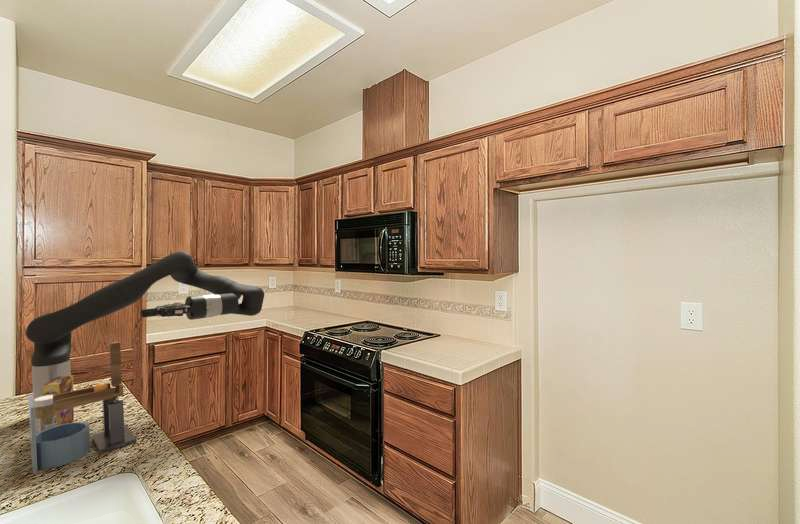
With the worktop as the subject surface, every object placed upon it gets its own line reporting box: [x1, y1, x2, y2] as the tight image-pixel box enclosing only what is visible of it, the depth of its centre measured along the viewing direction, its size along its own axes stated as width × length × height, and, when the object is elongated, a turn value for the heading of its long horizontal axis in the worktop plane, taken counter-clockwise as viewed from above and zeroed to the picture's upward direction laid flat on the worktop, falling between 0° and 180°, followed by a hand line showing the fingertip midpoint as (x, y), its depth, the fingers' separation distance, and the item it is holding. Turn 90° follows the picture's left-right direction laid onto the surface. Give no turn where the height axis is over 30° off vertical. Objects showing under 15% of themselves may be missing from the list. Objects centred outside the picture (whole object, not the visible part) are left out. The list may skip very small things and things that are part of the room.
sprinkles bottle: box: [34, 395, 57, 434], centre depth 103 cm, size 5×5×14 cm
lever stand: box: [91, 397, 137, 455], centre depth 105 cm, size 12×8×13 cm, turn 47°
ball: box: [93, 382, 108, 392], centre depth 103 cm, size 3×3×3 cm
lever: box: [53, 341, 125, 412], centre depth 101 cm, size 6×14×16 cm, turn 137°
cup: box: [27, 395, 91, 475], centre depth 97 cm, size 11×11×16 cm
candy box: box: [42, 374, 75, 426], centre depth 112 cm, size 9×4×15 cm, turn 20°
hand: (141, 313), depth 110 cm, fingers closed
